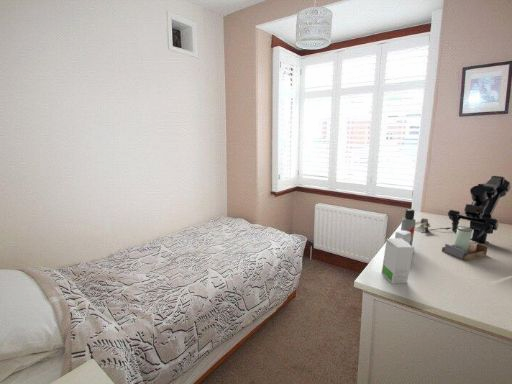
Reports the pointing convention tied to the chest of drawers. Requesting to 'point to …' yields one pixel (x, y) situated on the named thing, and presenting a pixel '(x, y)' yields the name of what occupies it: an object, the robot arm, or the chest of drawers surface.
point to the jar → (472, 247)
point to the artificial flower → (426, 226)
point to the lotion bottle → (409, 223)
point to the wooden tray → (480, 252)
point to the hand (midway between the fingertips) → (465, 234)
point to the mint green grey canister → (463, 238)
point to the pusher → (454, 251)
